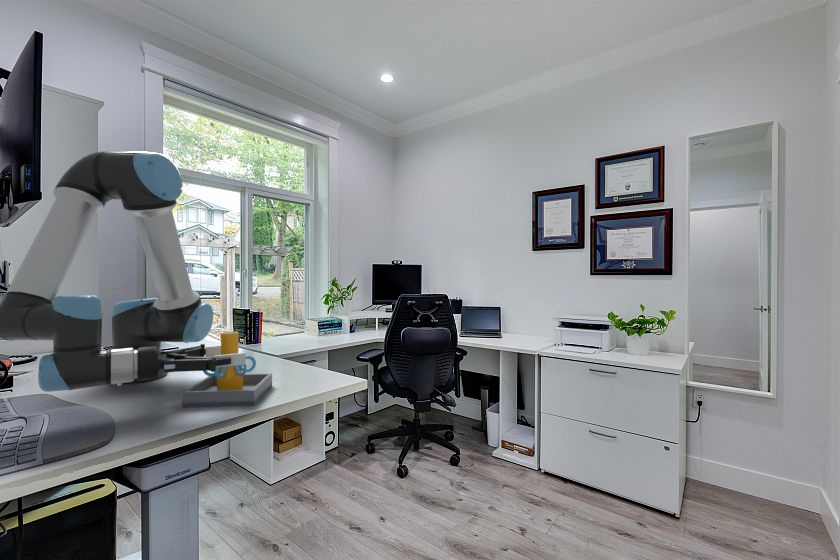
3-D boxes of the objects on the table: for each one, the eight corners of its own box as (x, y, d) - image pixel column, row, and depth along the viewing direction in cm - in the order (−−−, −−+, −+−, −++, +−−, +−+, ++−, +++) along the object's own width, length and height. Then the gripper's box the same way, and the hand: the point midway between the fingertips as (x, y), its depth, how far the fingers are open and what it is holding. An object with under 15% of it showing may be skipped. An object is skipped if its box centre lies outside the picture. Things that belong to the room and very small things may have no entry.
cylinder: (254, 382, 106) (253, 328, 106) (258, 393, 97) (257, 333, 97) (203, 389, 100) (202, 331, 100) (202, 401, 91) (201, 337, 91)
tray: (211, 387, 105) (211, 374, 105) (272, 386, 107) (272, 373, 107) (182, 407, 90) (182, 392, 90) (254, 405, 91) (254, 390, 91)
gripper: (135, 370, 96) (228, 359, 109) (137, 395, 77) (251, 378, 89) (135, 339, 96) (228, 333, 109) (137, 357, 76) (251, 346, 89)
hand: (238, 353), depth 99 cm, fingers open, 13 cm apart
